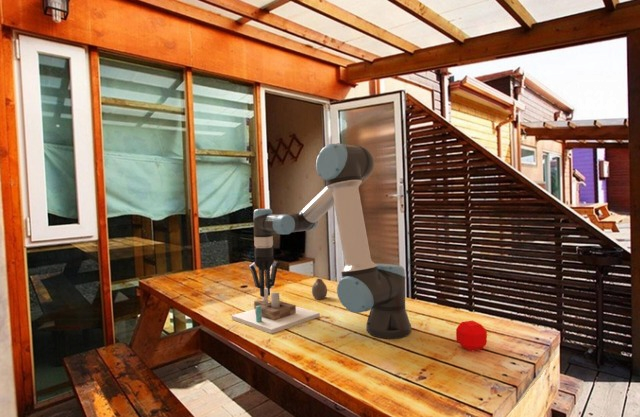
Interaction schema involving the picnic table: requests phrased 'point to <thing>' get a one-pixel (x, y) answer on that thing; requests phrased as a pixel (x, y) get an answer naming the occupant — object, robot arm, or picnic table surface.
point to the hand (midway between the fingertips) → (265, 303)
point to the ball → (471, 335)
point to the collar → (276, 313)
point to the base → (279, 324)
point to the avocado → (319, 289)
